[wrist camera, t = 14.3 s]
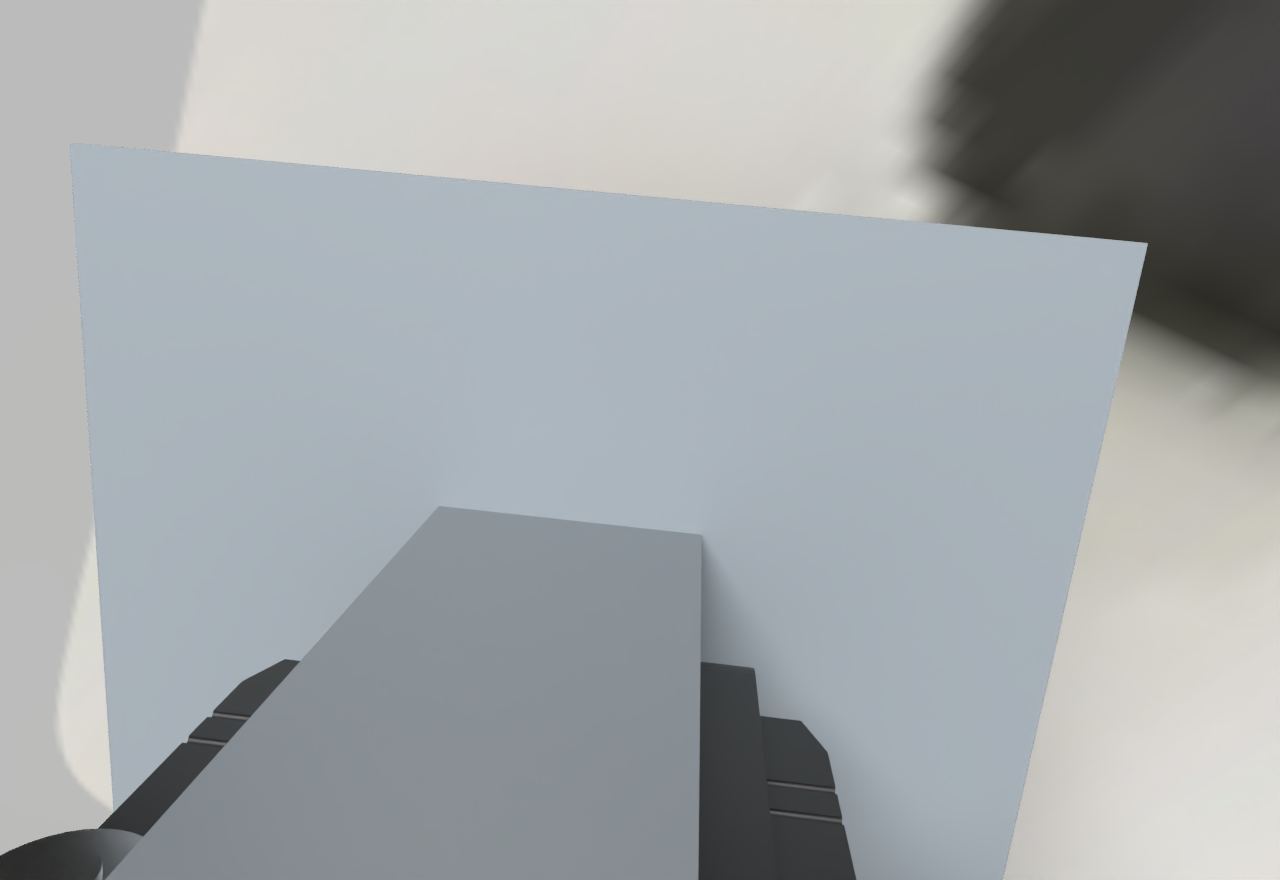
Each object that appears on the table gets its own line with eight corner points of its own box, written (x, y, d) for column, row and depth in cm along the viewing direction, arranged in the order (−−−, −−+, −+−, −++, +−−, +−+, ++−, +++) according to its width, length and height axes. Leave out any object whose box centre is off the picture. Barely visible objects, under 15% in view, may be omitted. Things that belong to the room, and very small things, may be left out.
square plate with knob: (933, 226, 18) (1931, 304, 3) (847, 734, 20) (1183, 1964, 6) (368, 173, 18) (-908, 39, 4) (361, 676, 21) (-381, 1689, 7)
